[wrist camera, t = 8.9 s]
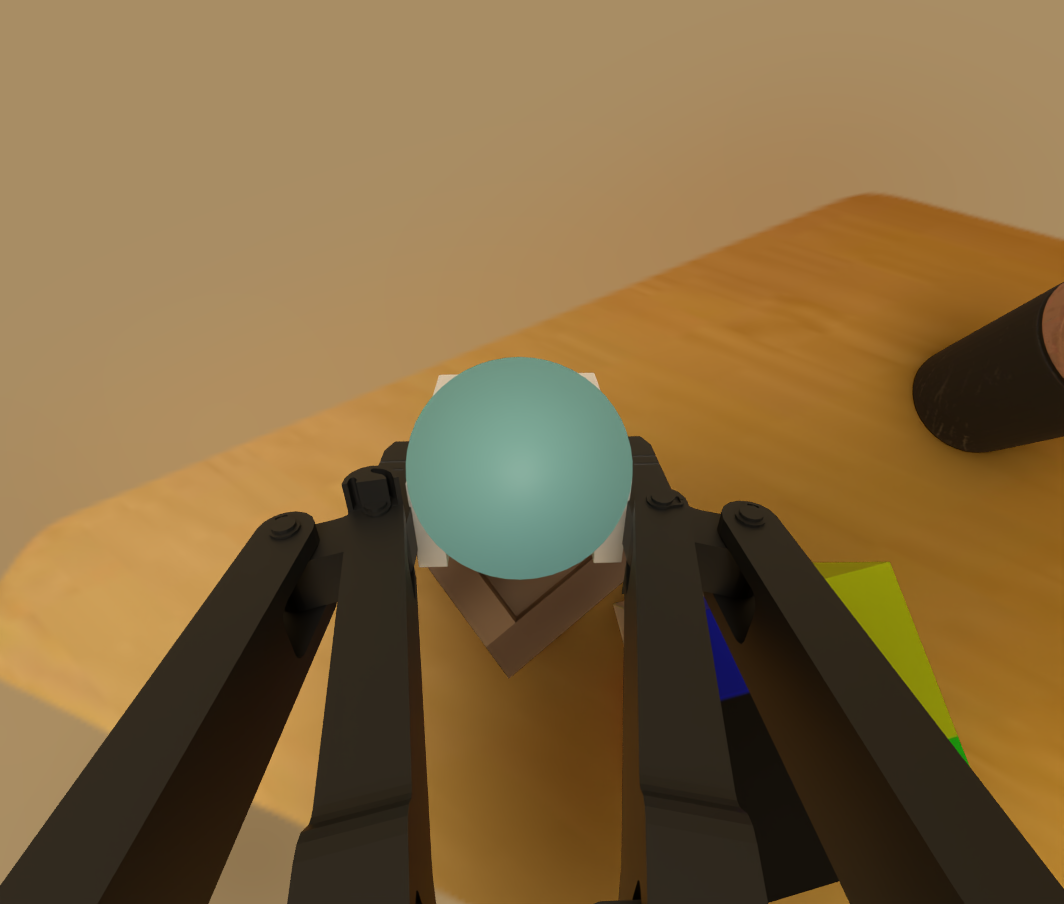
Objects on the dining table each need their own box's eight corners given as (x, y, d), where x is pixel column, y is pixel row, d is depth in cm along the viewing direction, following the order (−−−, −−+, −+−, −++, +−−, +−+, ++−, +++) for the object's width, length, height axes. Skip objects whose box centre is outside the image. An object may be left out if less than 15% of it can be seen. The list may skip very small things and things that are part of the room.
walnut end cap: (642, 549, 30) (665, 546, 25) (511, 659, 29) (508, 678, 24) (539, 424, 32) (541, 398, 27) (410, 522, 30) (388, 513, 25)
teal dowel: (587, 530, 20) (679, 481, 9) (510, 593, 20) (498, 630, 8) (527, 455, 21) (537, 317, 9) (451, 514, 20) (360, 444, 9)
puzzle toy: (612, 603, 29) (656, 622, 20) (771, 562, 30) (889, 561, 20) (661, 788, 27) (737, 912, 18) (831, 740, 28) (995, 833, 18)
